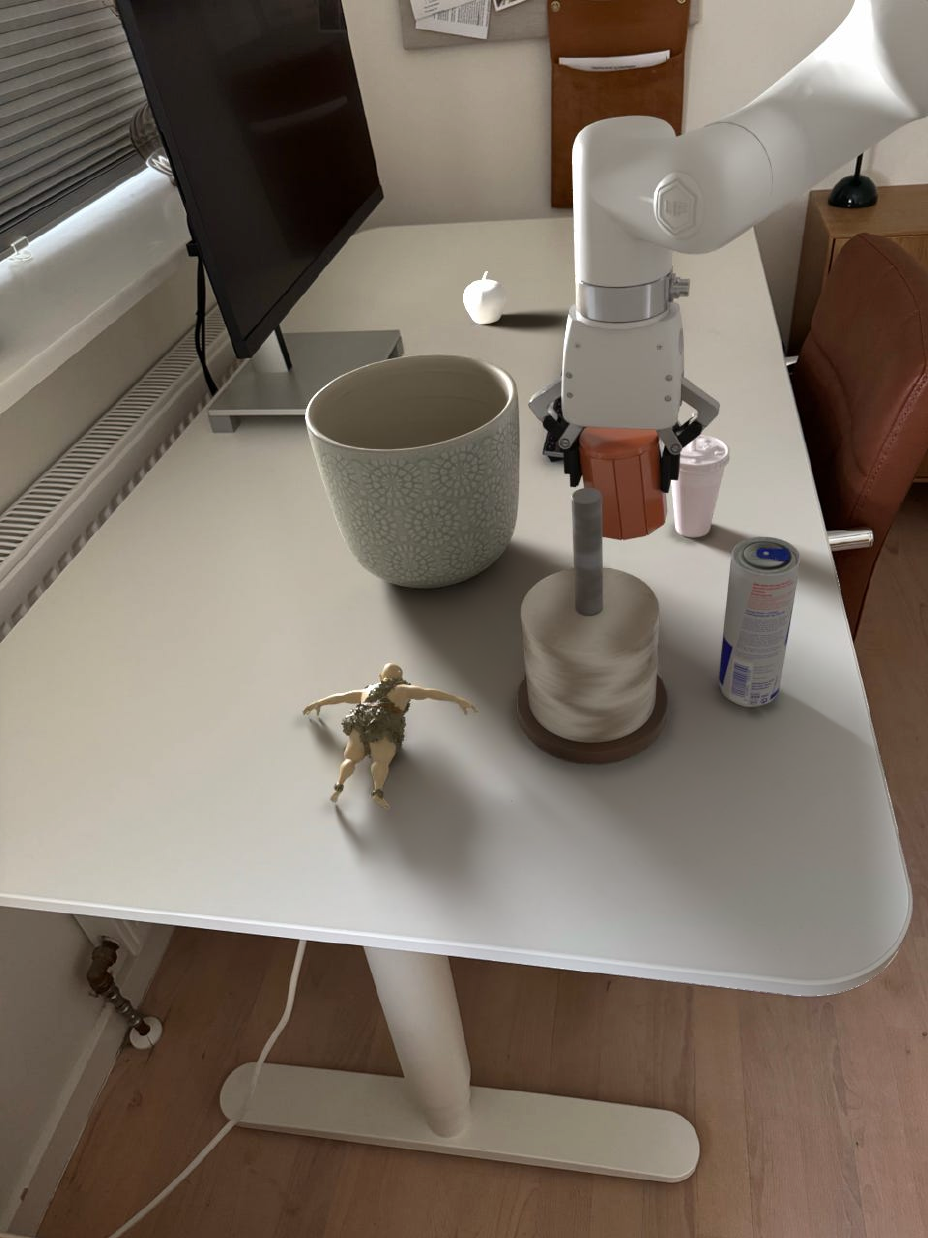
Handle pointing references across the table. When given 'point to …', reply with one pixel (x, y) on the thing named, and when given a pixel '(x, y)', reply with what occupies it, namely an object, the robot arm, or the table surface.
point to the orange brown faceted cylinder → (625, 479)
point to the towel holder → (591, 654)
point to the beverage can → (757, 619)
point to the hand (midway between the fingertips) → (621, 481)
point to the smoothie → (698, 484)
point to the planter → (421, 465)
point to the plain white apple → (485, 300)
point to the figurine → (378, 723)
